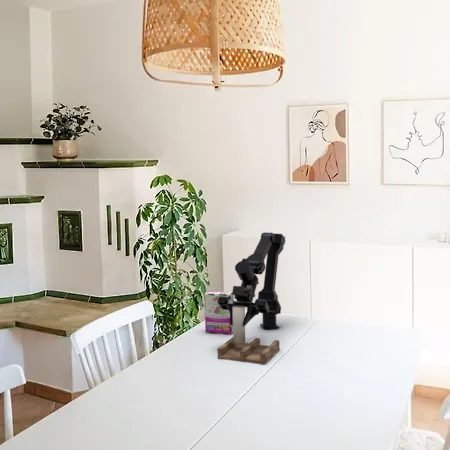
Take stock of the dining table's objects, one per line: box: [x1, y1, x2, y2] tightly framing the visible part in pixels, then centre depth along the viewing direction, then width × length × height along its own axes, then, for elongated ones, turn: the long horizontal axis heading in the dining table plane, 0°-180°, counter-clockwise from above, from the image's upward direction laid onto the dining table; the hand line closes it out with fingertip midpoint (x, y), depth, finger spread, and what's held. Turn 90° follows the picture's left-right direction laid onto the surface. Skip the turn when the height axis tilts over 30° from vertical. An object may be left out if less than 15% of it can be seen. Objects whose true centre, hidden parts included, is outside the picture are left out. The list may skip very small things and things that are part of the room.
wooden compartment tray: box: [217, 336, 281, 365], centre depth 219 cm, size 16×18×4 cm
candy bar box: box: [203, 290, 235, 335], centre depth 245 cm, size 11×5×16 cm, turn 73°
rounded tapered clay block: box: [232, 305, 246, 344], centre depth 220 cm, size 4×4×13 cm
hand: (237, 325), depth 218 cm, fingers closed on rounded tapered clay block, 4 cm apart
